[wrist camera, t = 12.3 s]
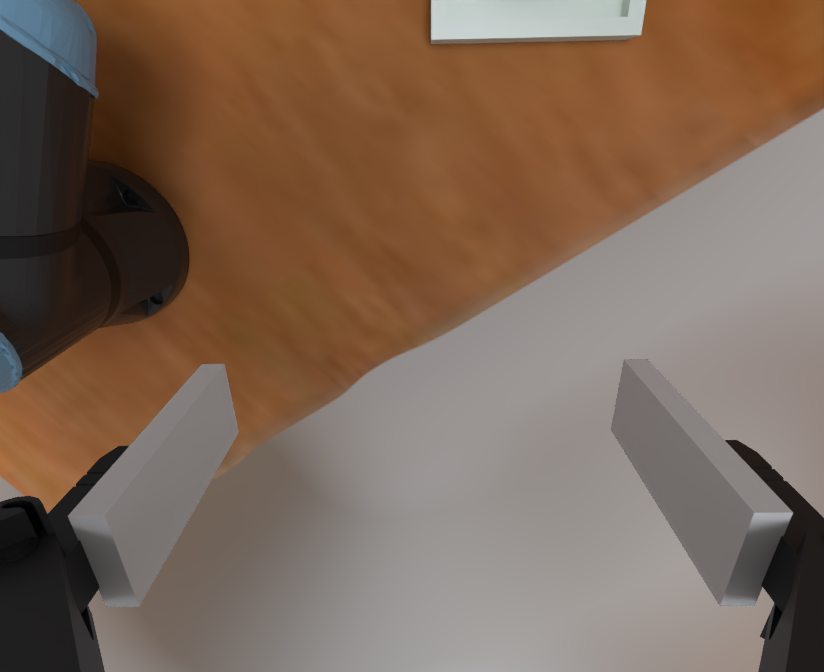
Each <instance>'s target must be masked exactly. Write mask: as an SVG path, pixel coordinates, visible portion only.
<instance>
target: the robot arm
mask: <svg viewBox="0 0 824 672" xmlns="http://www.w3.org/2000/svg"><path fill="white" fill-rule="evenodd" d="M96 56H97V35H96V31H95V28H94V25H93V23H92V21H91V19H90V17H89V16H88V14H87V13H86V12H85V10H84V9H83V8H82V7H81V6H80V5H79V4H78V3H77V2H76V1H75V0H0V393H2V392H6V391H9V390H11V389H12V388H14V387H15V386H16V385H17V384H18V382H19V381H21V380H22V379H24V378H25V377H26V376H28V375H29V374H31V373H32V372H34V371H35V370H37V369H38V368H40V367H41V366H43V365H44V364H46V363H47V362H49V361H50V360H52V359H53V358H54V357H56V356H57V355H59V354H60V353H62V352H63V351H65V350H66V349H68V348H69V347H71V346H72V345H74V344H75V343H77V342H78V341H79V340H81V339H82V338H84V337H85V336H87V335H89V334H90V333H92V332H93V331H94V330H96V329H97V328H102V327H108V326H115V325H122V324H128V323H133V322H137V321H140V320H143V319H145V318H148V317H150V316H152V315H153V314H155V313H157V312H158V311H159V310H161V309H162V308H164V307H165V306H166V305H168V304H169V303H170V302H171V301H172V300H173V299H174V298H175V297H176V296H177V295H178V293H179V292H180V290H181V288H182V287H183V285H184V282H185V280H186V276H187V272H188V266H189V252H188V245H187V241H186V237H185V234H184V231H183V228H182V226H181V224H180V222H179V220H178V218H177V216H176V214H175V213H174V211H173V210H172V208H171V207H170V205H169V204H168V203H167V202H166V200H165V199H164V198H163V197H162V196H161V195H160V194H159V193H158V192H157V191H156V190H155V189H154V188H153V187H152V186H151V185H149V184H148V183H147V182H145V181H144V180H143V179H141V178H140V177H138V176H136V175H135V174H133V173H131V172H129V171H127V170H125V169H123V168H120V167H118V166H114V165H111V164H107V163H103V162H96V161H88V155H89V146H90V136H91V126H92V117H93V107H94V98H95V99H98V95H99V92H98V89H97V88H96V87H95V75H96ZM611 430H612V432H613V434H614V435H615V437H616V439H617V440H618V442H619V444H620V445H621V447H622V448H623V450H624V452H625V453H626V455H627V457H628V458H629V460H630V461H631V463H632V465H633V466H634V468H635V469H636V471H637V473H638V474H639V476H640V478H641V479H642V481H643V482H644V484H645V486H646V487H647V489H648V491H649V492H650V494H651V495H652V497H653V499H654V500H655V502H656V503H657V505H658V507H659V508H660V510H661V512H662V513H663V515H664V516H665V518H666V520H667V521H668V523H669V524H670V526H671V528H672V529H673V531H674V533H675V534H676V536H677V537H678V539H679V541H680V542H681V544H682V546H683V547H684V549H685V550H686V552H687V554H688V555H689V557H690V558H691V560H692V562H693V563H694V565H695V566H696V568H697V570H698V571H699V573H700V575H701V576H702V578H703V579H704V581H705V583H706V584H707V586H708V588H709V589H710V591H711V592H712V594H713V596H714V597H715V599H716V600H717V602H718V604H719V605H720V606H755V604H756V601H757V599H758V596H759V594H760V591H761V589H762V587H763V588H764V589H765V590H766V592H767V593H768V594H769V596H770V597H771V599H772V600H773V601H774V606H773V608H772V610H771V613H770V615H769V617H768V619H767V622H766V624H765V626H764V629H763V631H762V633H761V635H760V637H762V638H764V639H765V641H764V646H763V651H762V657H761V662H760V667H759V672H824V518H823V517H822V516H821V515H820V514H819V513H818V512H817V511H816V510H815V509H814V508H813V507H812V506H811V505H810V504H809V503H808V502H807V501H806V500H805V499H804V498H803V497H802V496H801V495H800V494H799V493H798V492H797V491H796V490H795V489H794V488H793V487H792V486H791V485H790V484H789V483H788V482H787V481H784V480H783V477H782V476H781V475H780V474H779V473H778V472H777V471H775V469H772V468H771V465H770V464H769V463H767V462H766V461H765V460H764V459H763V458H762V457H761V456H760V455H759V454H758V453H757V452H756V451H754V450H752V449H751V448H749V447H747V446H746V445H744V444H742V443H741V442H739V441H737V440H724V439H723V438H722V437H721V436H720V435H719V434H718V433H717V432H716V431H715V430H714V429H713V428H712V427H711V425H710V424H709V423H708V422H707V421H706V420H705V419H704V418H703V417H702V416H701V415H700V414H699V413H698V412H697V411H696V410H695V409H694V408H693V407H692V406H691V404H690V403H689V402H688V401H687V400H686V399H685V398H684V397H683V396H682V395H681V394H680V393H679V392H678V391H677V390H676V389H675V388H674V387H673V386H672V385H671V383H670V382H669V381H668V380H667V379H666V378H665V377H664V376H663V375H662V374H661V373H660V372H659V371H658V370H657V369H656V368H655V367H654V366H653V365H652V364H651V363H650V361H649V360H648V359H633V360H632V359H629V360H624V362H623V367H622V373H621V378H620V383H619V388H618V394H617V399H616V405H615V410H614V416H613V421H612V426H611ZM238 433H239V432H238V427H237V422H236V417H235V412H234V407H233V402H232V397H231V393H230V388H229V383H228V378H227V373H226V368H225V364H201V365H200V367H199V368H198V369H197V370H196V371H195V372H194V373H193V375H192V376H191V377H190V378H189V379H188V380H187V381H186V382H185V384H184V385H183V386H182V387H181V388H180V389H179V390H178V392H177V393H176V394H175V395H174V396H173V397H172V398H171V399H170V401H169V402H168V403H167V404H166V405H165V406H164V407H163V409H162V410H161V411H160V412H159V413H158V414H157V415H156V416H155V418H154V419H153V420H152V421H151V422H150V423H149V424H148V426H147V427H146V428H145V429H144V430H143V431H142V432H141V433H140V435H139V436H138V437H137V438H136V439H135V440H134V441H133V443H132V444H131V445H130V446H118V447H117V448H115V449H114V450H112V451H111V452H109V453H107V454H106V455H104V456H103V457H101V458H100V459H99V460H98V461H97V462H96V463H95V464H94V465H93V466H92V467H91V469H90V470H89V471H88V472H87V475H84V476H83V477H82V478H81V479H80V480H79V481H78V482H77V483H76V487H73V488H72V489H71V490H70V491H69V492H68V493H67V494H66V495H65V496H64V497H63V498H62V499H61V501H60V502H59V503H58V504H57V505H56V506H55V507H54V508H53V509H52V510H51V511H50V512H49V513H48V514H47V513H46V511H45V508H44V506H43V504H42V502H41V501H40V500H39V498H35V497H31V496H24V497H15V498H12V499H8V500H5V501H2V502H0V672H105V671H104V666H103V662H102V657H101V653H100V649H99V644H98V640H97V635H96V631H95V626H94V622H93V618H92V614H91V612H90V609H89V607H88V604H89V602H90V601H91V599H92V598H93V596H94V595H95V594H96V592H97V591H98V589H99V591H100V593H101V596H102V598H103V601H104V603H105V605H106V606H107V607H112V606H113V607H117V606H118V607H126V606H127V607H129V606H130V607H138V606H140V604H141V602H142V601H143V599H144V597H145V595H146V594H147V592H148V590H149V588H150V587H151V585H152V583H153V581H154V580H155V578H156V576H157V574H158V573H159V571H160V569H161V567H162V566H163V564H164V562H165V560H166V559H167V557H168V555H169V553H170V552H171V550H172V548H173V546H174V545H175V543H176V541H177V540H178V538H179V536H180V534H181V532H182V531H183V529H184V527H185V525H186V524H187V522H188V520H189V519H190V517H191V515H192V513H193V511H194V510H195V508H196V506H197V504H198V503H199V501H200V499H201V497H202V496H203V494H204V492H205V491H206V489H207V487H208V485H209V484H210V482H211V480H212V478H213V477H214V475H215V473H216V471H217V470H218V468H219V466H220V464H221V463H222V461H223V459H224V457H225V456H226V454H227V452H228V450H229V449H230V447H231V445H232V443H233V442H234V440H235V438H236V436H237V435H238Z"/></svg>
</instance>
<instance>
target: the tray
mask: <svg viewBox="0 0 824 672" xmlns="http://www.w3.org/2000/svg"><path fill="white" fill-rule="evenodd" d="M645 6H646V0H431V44H468V43H512V42H557V41H601V40H629V39H632V38H634V37H637V36H640V35H641V32H642V25H643V19H644V12H645Z"/></svg>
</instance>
